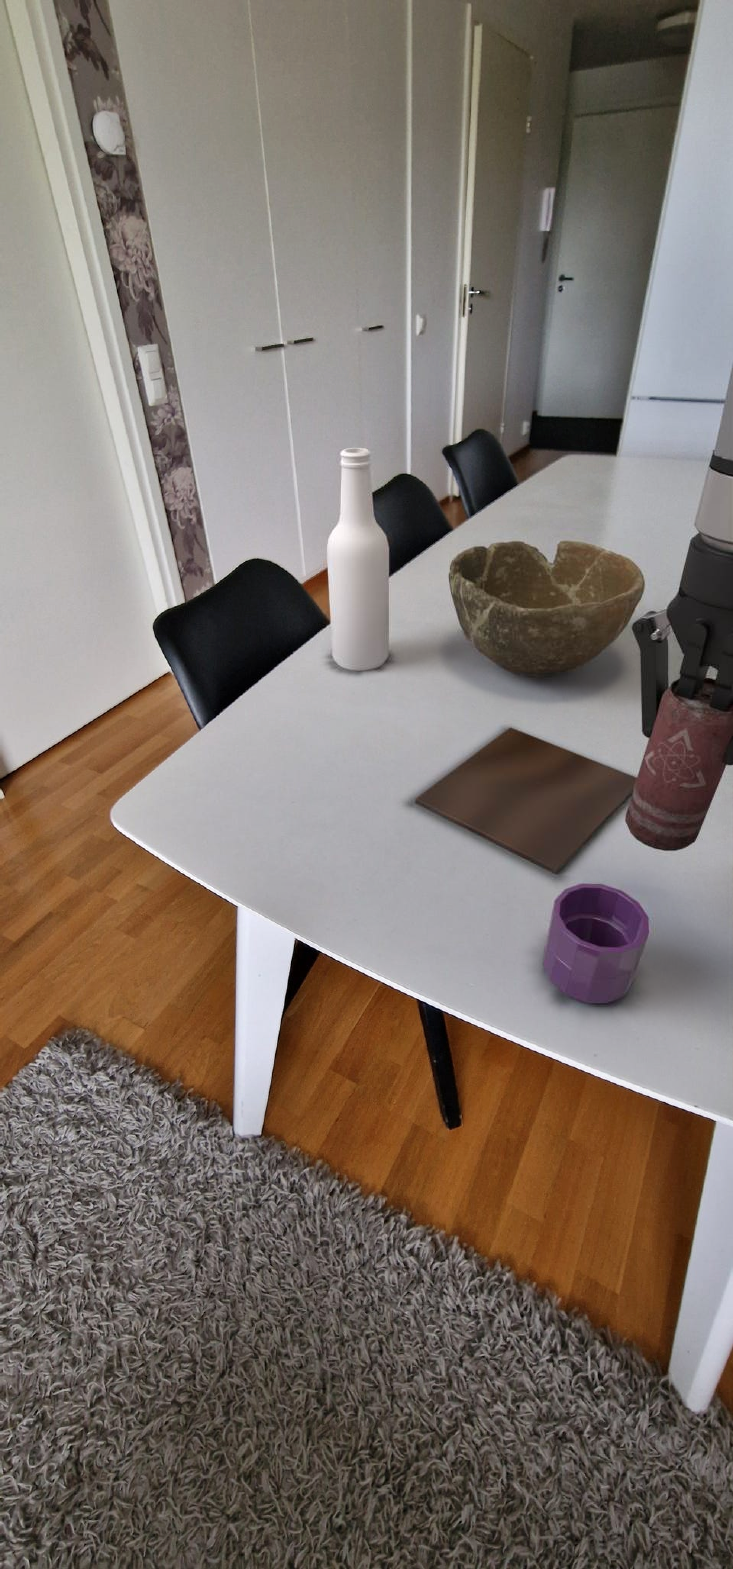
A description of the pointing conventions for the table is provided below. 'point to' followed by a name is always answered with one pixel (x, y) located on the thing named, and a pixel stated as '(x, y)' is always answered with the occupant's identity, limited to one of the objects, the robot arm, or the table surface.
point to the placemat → (530, 797)
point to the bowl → (543, 603)
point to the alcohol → (358, 571)
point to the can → (679, 769)
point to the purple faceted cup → (595, 942)
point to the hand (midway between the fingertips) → (671, 814)
